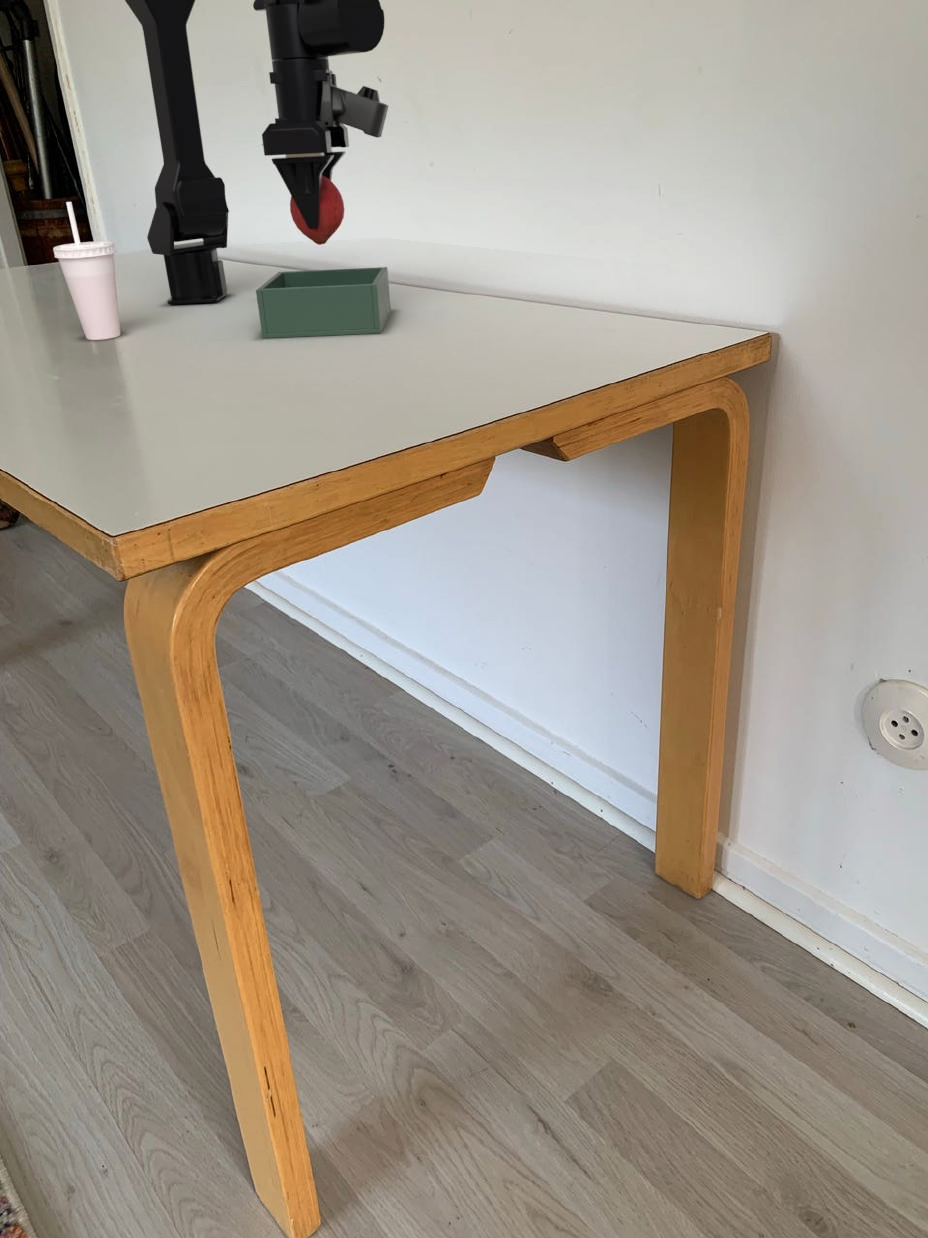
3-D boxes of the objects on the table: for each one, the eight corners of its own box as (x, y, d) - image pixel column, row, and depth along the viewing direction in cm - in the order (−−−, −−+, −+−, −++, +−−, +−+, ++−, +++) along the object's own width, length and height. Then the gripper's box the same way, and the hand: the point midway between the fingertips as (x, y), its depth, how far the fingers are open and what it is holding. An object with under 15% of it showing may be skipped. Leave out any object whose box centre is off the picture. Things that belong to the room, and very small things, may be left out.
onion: (350, 245, 103) (342, 163, 99) (296, 249, 102) (287, 166, 98) (343, 239, 108) (336, 161, 104) (292, 243, 107) (283, 164, 103)
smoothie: (70, 335, 109) (39, 202, 102) (127, 327, 111) (100, 197, 105) (77, 344, 104) (45, 205, 97) (137, 336, 106) (110, 200, 100)
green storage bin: (262, 338, 103) (255, 289, 100) (284, 315, 114) (278, 271, 112) (380, 333, 102) (376, 284, 100) (390, 311, 113) (387, 266, 111)
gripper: (369, 50, 88) (383, 231, 96) (387, 60, 105) (398, 213, 112) (250, 56, 89) (273, 236, 96) (286, 65, 105) (303, 218, 112)
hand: (318, 225), depth 104 cm, fingers closed on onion, 6 cm apart
